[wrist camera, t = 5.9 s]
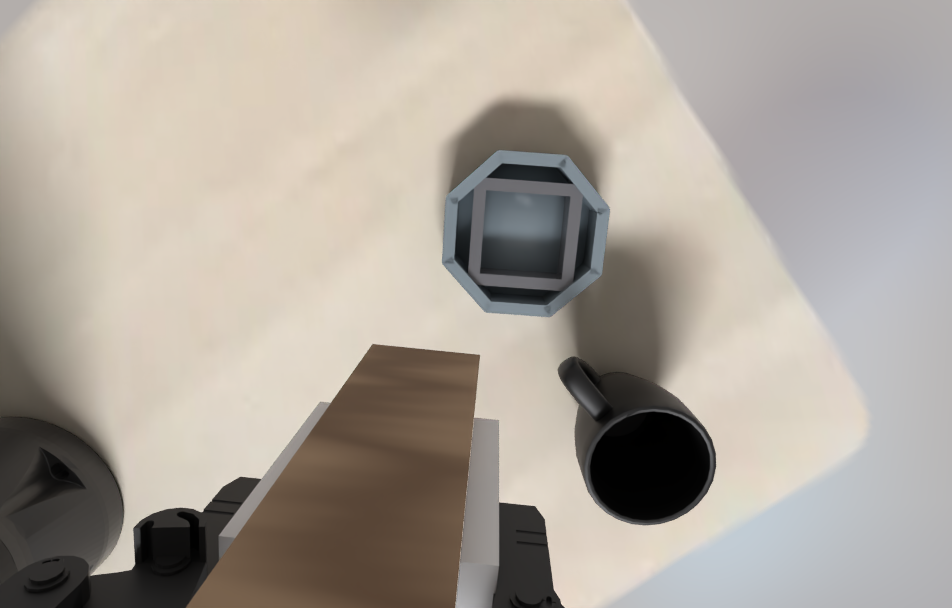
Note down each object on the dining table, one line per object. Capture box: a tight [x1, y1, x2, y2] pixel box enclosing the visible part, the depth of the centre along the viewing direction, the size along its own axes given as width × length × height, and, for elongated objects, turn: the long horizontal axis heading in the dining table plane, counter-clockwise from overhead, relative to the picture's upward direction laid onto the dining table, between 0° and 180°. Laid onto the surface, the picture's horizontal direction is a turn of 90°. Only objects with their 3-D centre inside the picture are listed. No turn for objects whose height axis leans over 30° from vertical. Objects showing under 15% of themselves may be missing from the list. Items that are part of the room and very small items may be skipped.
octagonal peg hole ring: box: [442, 150, 610, 317], centre depth 40 cm, size 11×11×4 cm
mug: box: [558, 357, 716, 525], centre depth 40 cm, size 8×12×10 cm
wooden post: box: [186, 344, 480, 608], centre depth 14 cm, size 4×4×16 cm
